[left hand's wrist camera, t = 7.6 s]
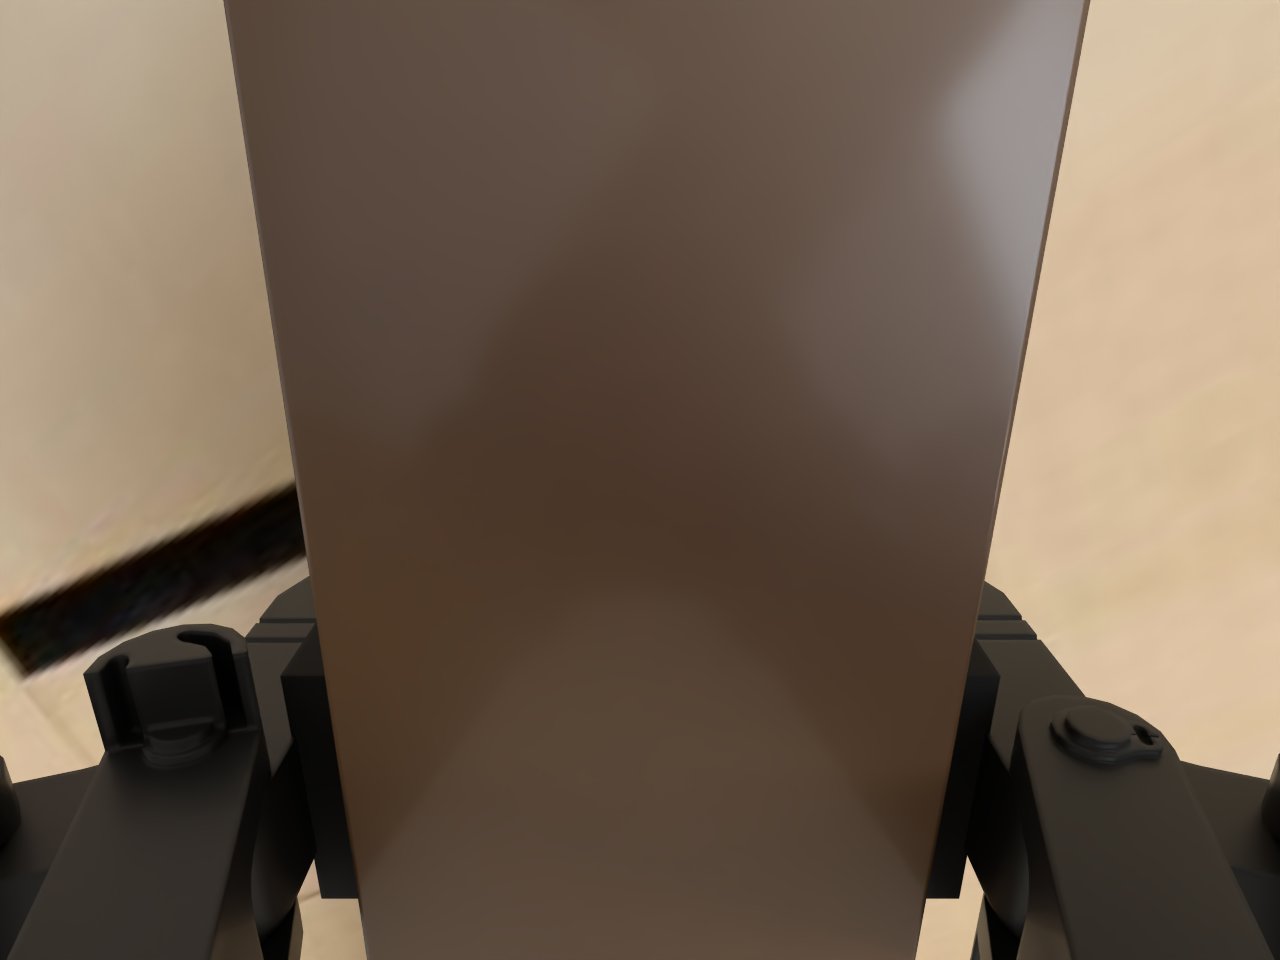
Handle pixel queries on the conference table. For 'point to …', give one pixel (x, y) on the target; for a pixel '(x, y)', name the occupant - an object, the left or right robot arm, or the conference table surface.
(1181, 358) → the conference table surface
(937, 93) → the bar
